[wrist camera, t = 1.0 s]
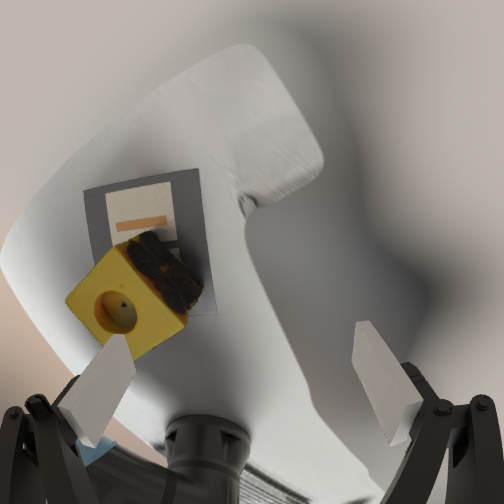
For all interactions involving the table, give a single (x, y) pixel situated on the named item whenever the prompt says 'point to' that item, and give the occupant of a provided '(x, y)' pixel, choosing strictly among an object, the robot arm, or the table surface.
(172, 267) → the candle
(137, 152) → the table surface
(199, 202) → the label plate
